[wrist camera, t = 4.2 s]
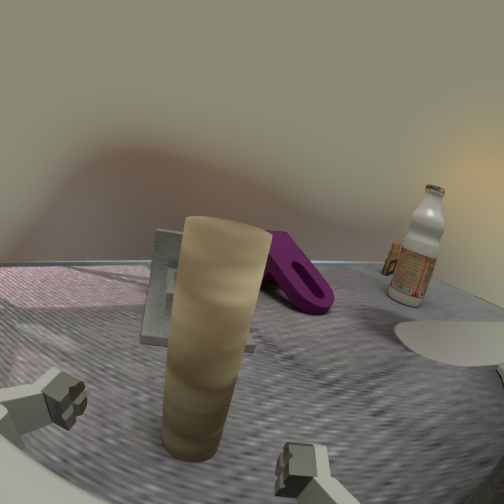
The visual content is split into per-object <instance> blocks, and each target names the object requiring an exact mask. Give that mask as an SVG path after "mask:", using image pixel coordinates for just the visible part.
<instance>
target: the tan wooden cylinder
mask: <svg viewBox="0 0 504 504" xmlns="http://www.w3.org/2000/svg"><path fill="white" fill-rule="evenodd" d="M271 241H272V235H271V234H270V233H268V232H267V231H264V230H262V229H260V228H257V227H254V226H250V225H247V224H244V223H239V222H235V221H231V220H226V219H220V218H213V217H204V216H190V217H187V218H186V221H185V226H184V232H183V238H182V244H181V250H180V256H179V262H178V269H177V276H176V283H175V290H174V297H173V305H172V313H171V322H170V331H169V340H168V350H167V361H166V372H165V386H164V401H163V420H162V443H163V445H164V447H165V449H166V450H167V451H168V452H169V453H170V454H171V455H172V456H174V457H176V458H178V459H180V460H183V461H187V462H201V461H205V460H207V459H209V458H211V457H212V456H213V455H214V454H215V453H216V452H217V450H218V446H219V443H220V439H221V435H222V432H223V428H224V425H225V421H226V417H227V413H228V410H229V406H230V402H231V399H232V395H233V391H234V387H235V384H236V380H237V376H238V372H239V368H240V365H241V361H242V357H243V353H244V349H245V345H246V341H247V338H248V334H249V330H250V326H251V322H252V318H253V314H254V310H255V306H256V302H257V298H258V294H259V290H260V286H261V282H262V278H263V274H264V270H265V266H266V262H267V258H268V253H269V249H270V245H271Z"/></svg>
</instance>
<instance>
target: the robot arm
mask: <svg viewBox="0 0 504 504" xmlns="http://www.w3.org/2000/svg"><path fill="white" fill-rule="evenodd" d="M496 369H497V371H498V373H499V374H500V375H501V377H502V380H503V383H504V363H501V364H499V365H498V367H497V368H496ZM84 389H85V385H84V382H82V381H80V380H78V379H77V378H75V377H73V376H71V375H69V374H67V373H66V372H64V371H62V370H60V369H58V368H57V367H51V368H50V369H49V370H48V371H47V372H46V373H45V374H44V375H42V376H41V377H40V378H39V379H38V380H37V381H36V382H35V383H34V384H32V385H30V384H26V385H21V386H15V387H10V388H4V389H0V504H112V503H110V502H107V501H105V500H103V499H101V498H99V497H97V496H95V495H93V494H91V493H89V492H87V491H85V490H83V489H81V488H79V487H78V486H76V485H74V484H72V483H70V482H69V481H67V480H65V479H63V478H62V477H60V476H58V475H57V474H55V473H54V472H52V471H50V470H49V469H47V468H46V467H44V466H43V465H41V464H40V463H38V462H37V461H35V460H34V459H33V458H31V457H30V456H28V455H27V454H26V453H24V452H23V451H22V450H23V449H24V448H25V445H24V442H23V441H22V439H21V437H20V435H23V434H26V433H29V432H31V431H34V430H37V429H39V428H42V427H45V426H47V425H50V424H52V423H55V424H57V425H58V426H60V427H62V428H64V429H66V430H68V431H69V430H70V429H71V428H72V426H73V425H74V424H75V423H76V417H77V416H80V415H82V414H83V412H84V411H85V408H86V406H87V396H86V395H85V393H84V392H83V390H84ZM275 474H276V476H277V477H278V479H277V480H276V482H275V496H278V497H288V498H296V500H297V502H298V503H299V504H361V503H359V502H358V501H357V500H356V499H355V498H354V497H353V496H352V495H351V494H350V493H349V492H348V491H347V490H346V489H345V488H344V487H343V486H342V485H341V484H340V483H339V481H338V480H337V479H336V478H332V477H331V472H330V465H329V459H328V452H327V447H326V446H322V445H312V444H301V443H291V442H287V443H286V444H285V446H284V452H283V453H281V454H280V455H279V457H278V460H277V464H276V471H275Z"/></svg>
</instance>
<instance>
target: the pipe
mask: <svg viewBox="0 0 504 504" xmlns="http://www.w3.org/2000/svg"><path fill="white" fill-rule="evenodd" d="M462 504H504V455H503V457H502V458H501V459H500V461H499V462H498V464H497V465H496V467H495V468H494V469H493V471H492V472H491V473H490V475H489V476H488V477H487V478H486V479H485V480H484V481H483V483H482V484H481V485H480V486H479V487H478V488H477V489H476V490H475V491H473V492H472V493H471V494H470V495H469V496H468V497H467V498H466V499H465V500H464V502H463V503H462Z"/></svg>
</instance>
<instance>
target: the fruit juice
mask: <svg viewBox="0 0 504 504" xmlns="http://www.w3.org/2000/svg"><path fill="white" fill-rule="evenodd" d="M425 191H426V195H425V196H424V198H423V200H422V202H421V203H420V204H419V206H418V208H417V209H416V210H415V211H414V212H413V213H412V215H411V218H410V228H409V232H408V233H407V235H406V236H405V239H404V241H403V244H402V248H401V252H400V255H399V258H398V261H397V265H396V268H395V271H394V274H393V277H392V280H391V283H390V286H389V289H388V295H389V297H391V298H392V299H393V300H395V301H397V302H399V303H402V304H404V305H408V306H412V307H419V306H420V305H421V303H422V301H423V299H424V296H425V293H426V290H427V288H428V285H429V282H430V279H431V276H432V273H433V270H434V267H435V263H436V260H437V257H438V253H439V248H440V244H439V242H440V239H441V237H442V235H443V233H444V229H445V221H444V217H443V208H442V197H443V196H444V193H445V190H444V189H442V188H440V187H438V186H435V185H430V184H427V186H426V190H425Z"/></svg>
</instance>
